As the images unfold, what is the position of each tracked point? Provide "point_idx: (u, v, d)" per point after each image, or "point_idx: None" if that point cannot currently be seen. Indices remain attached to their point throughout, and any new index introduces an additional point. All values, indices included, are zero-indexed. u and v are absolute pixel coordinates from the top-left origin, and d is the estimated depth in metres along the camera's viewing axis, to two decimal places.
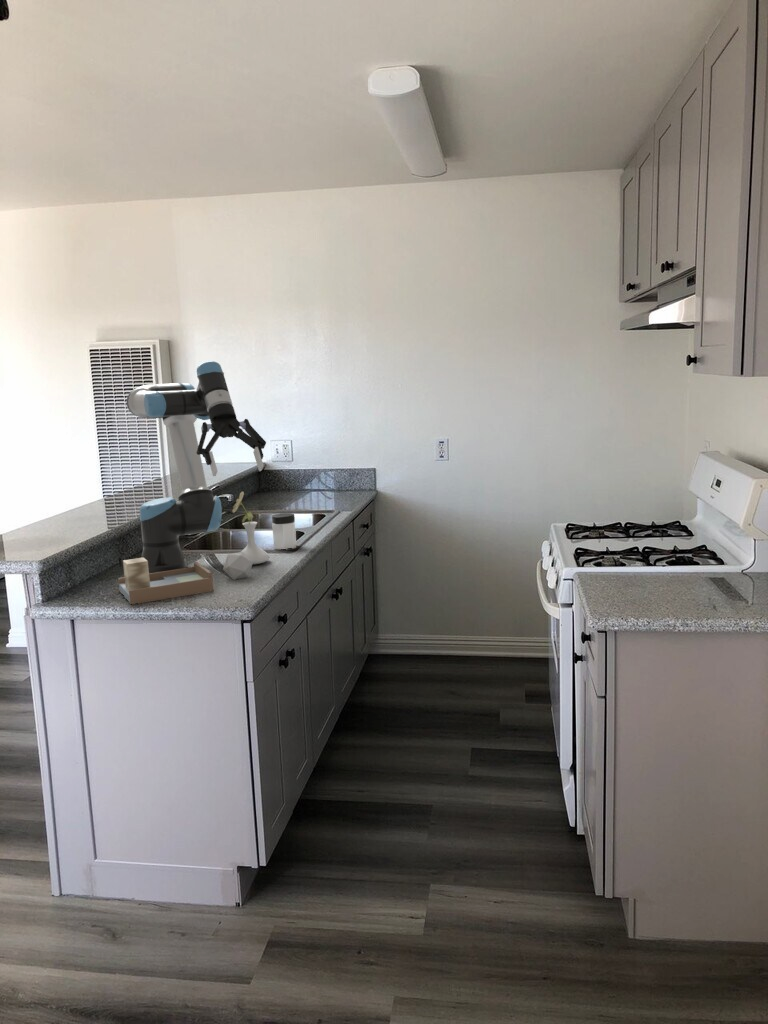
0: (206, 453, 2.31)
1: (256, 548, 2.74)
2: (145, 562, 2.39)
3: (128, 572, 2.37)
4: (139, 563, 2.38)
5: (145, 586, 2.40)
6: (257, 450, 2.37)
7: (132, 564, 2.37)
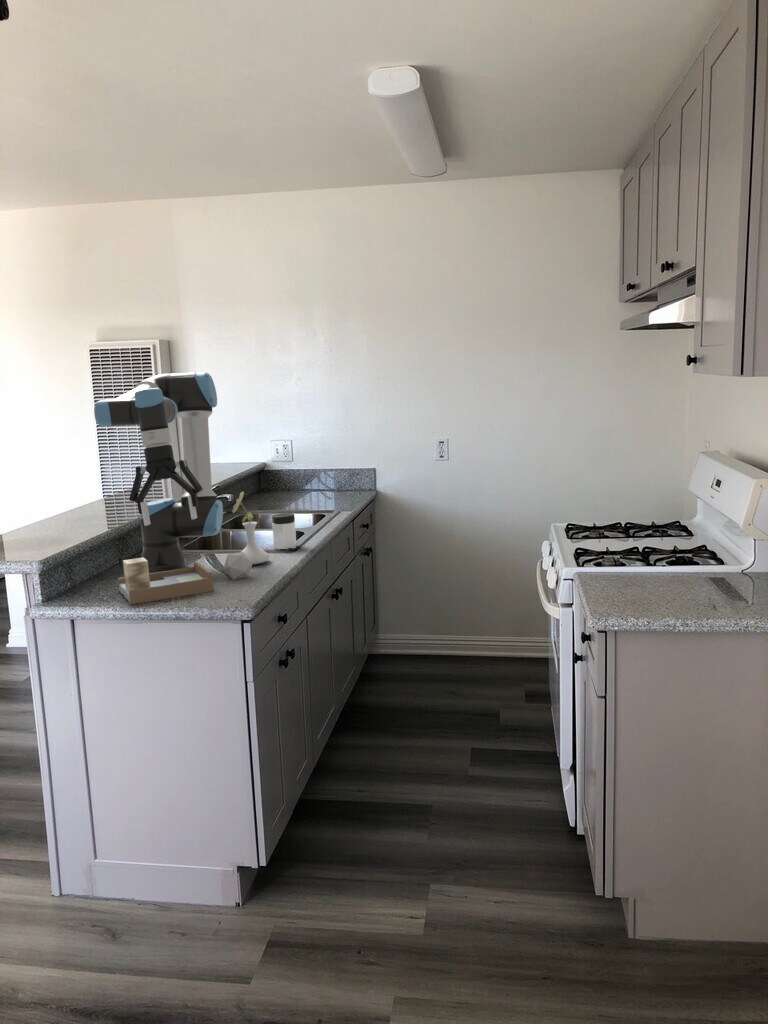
0: (138, 503, 2.26)
1: (256, 548, 2.74)
2: (145, 562, 2.39)
3: (128, 572, 2.37)
4: (139, 563, 2.38)
5: (145, 586, 2.40)
6: (189, 500, 2.24)
7: (132, 564, 2.37)
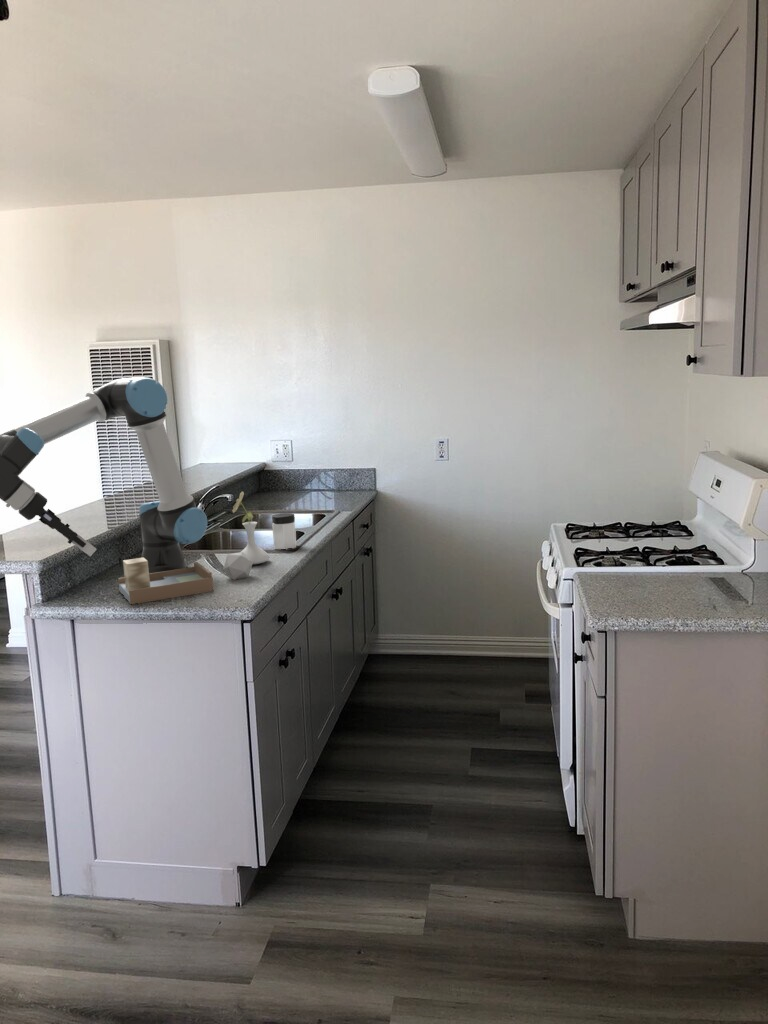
0: None
1: (256, 548, 2.74)
2: (145, 562, 2.39)
3: (128, 572, 2.37)
4: (139, 563, 2.38)
5: (145, 586, 2.40)
6: (74, 544, 2.24)
7: (132, 564, 2.37)
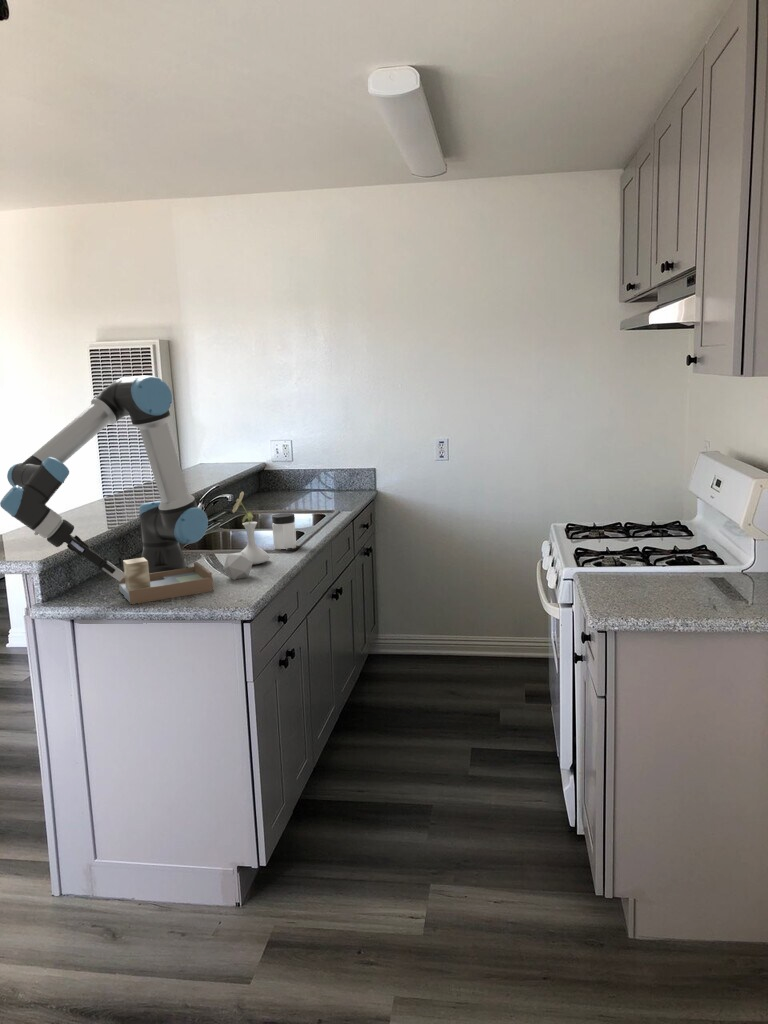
0: None
1: (256, 548, 2.74)
2: (145, 562, 2.39)
3: (128, 572, 2.37)
4: (139, 563, 2.38)
5: (145, 586, 2.40)
6: (104, 570, 2.36)
7: (132, 564, 2.37)
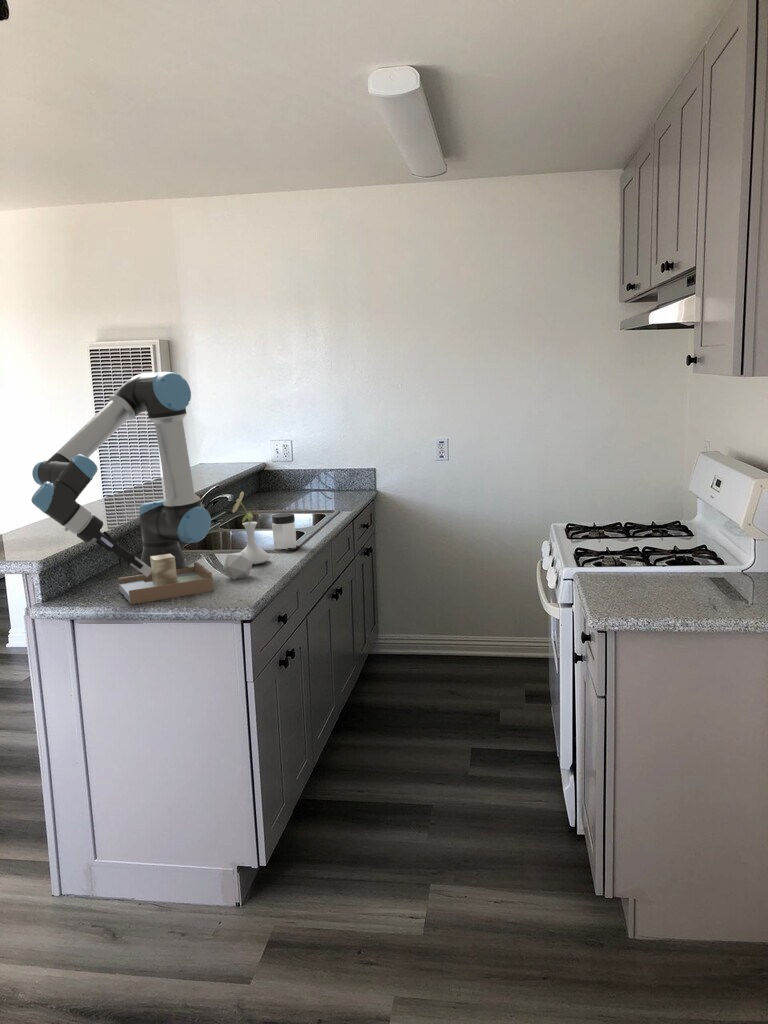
0: None
1: (256, 548, 2.74)
2: (172, 558, 2.42)
3: (156, 568, 2.40)
4: (166, 559, 2.41)
5: (172, 582, 2.43)
6: None
7: (160, 560, 2.41)
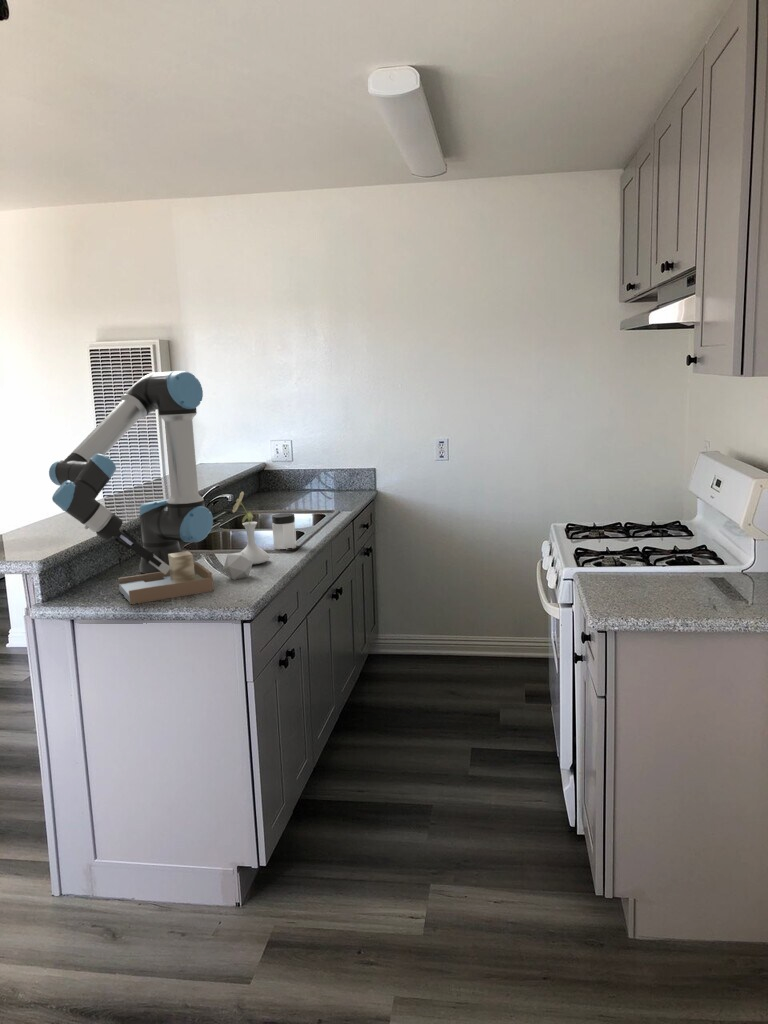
0: None
1: (256, 548, 2.74)
2: (190, 555, 2.45)
3: (174, 565, 2.43)
4: (185, 556, 2.44)
5: (190, 579, 2.46)
6: (151, 564, 2.42)
7: (178, 557, 2.43)
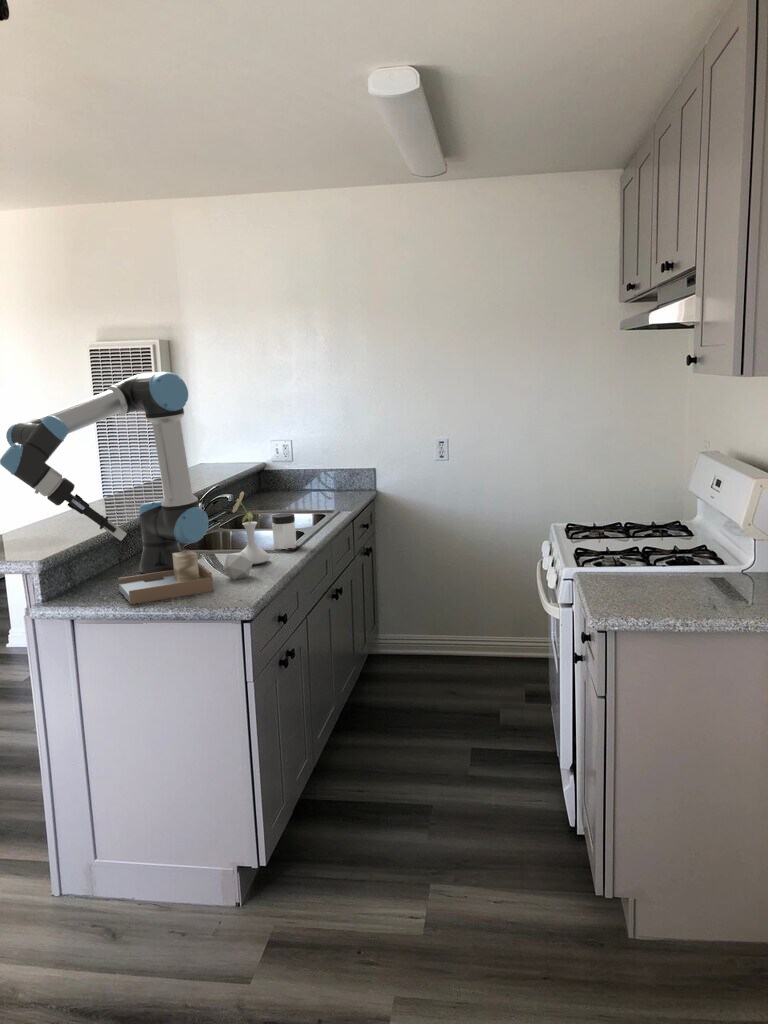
0: None
1: (256, 548, 2.74)
2: (194, 555, 2.45)
3: (178, 564, 2.43)
4: (189, 556, 2.45)
5: (194, 578, 2.46)
6: None
7: (182, 557, 2.44)
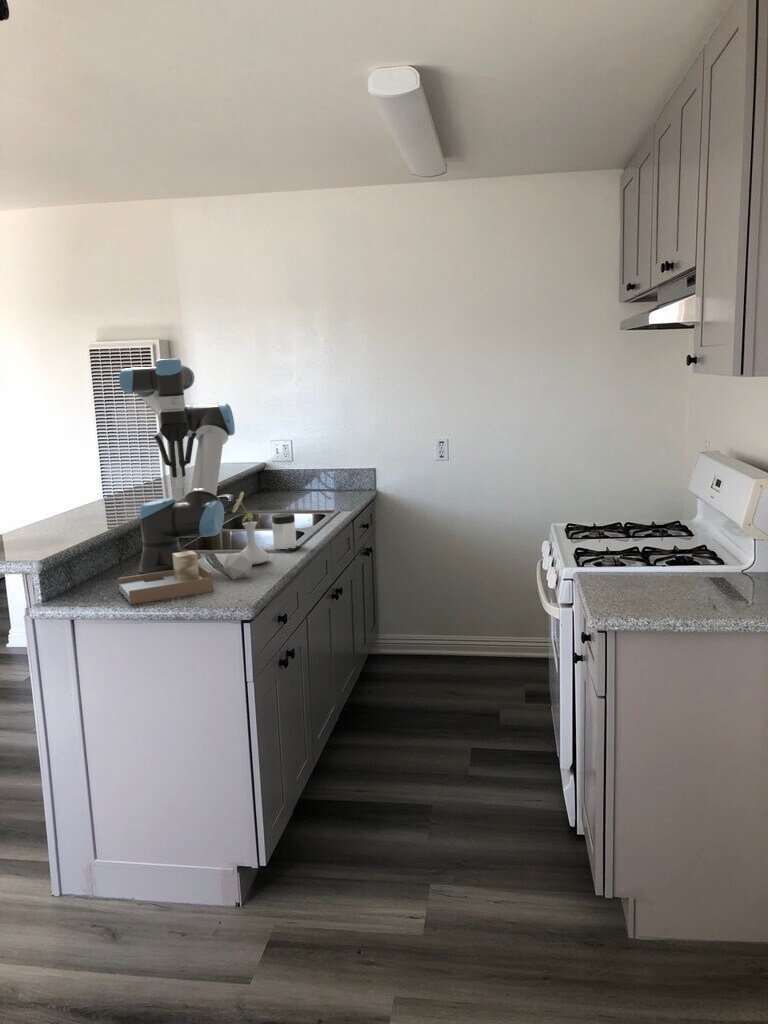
0: (173, 467, 2.50)
1: (256, 548, 2.74)
2: (194, 555, 2.45)
3: (178, 564, 2.43)
4: (189, 556, 2.45)
5: (194, 578, 2.46)
6: (180, 470, 2.50)
7: (182, 557, 2.44)
